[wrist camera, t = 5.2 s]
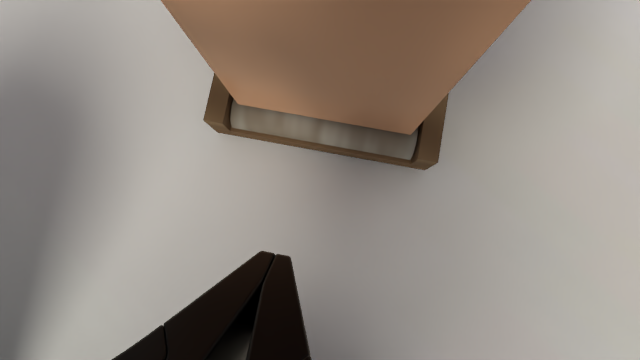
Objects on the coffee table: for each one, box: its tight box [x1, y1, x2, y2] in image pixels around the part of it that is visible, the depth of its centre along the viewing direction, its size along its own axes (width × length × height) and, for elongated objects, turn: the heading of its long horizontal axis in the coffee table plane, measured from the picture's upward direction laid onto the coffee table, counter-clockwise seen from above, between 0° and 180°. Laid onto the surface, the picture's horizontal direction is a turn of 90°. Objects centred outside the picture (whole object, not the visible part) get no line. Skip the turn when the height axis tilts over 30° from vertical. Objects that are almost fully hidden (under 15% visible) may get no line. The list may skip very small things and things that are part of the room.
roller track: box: [204, 73, 449, 170], centre depth 19 cm, size 14×12×6 cm
